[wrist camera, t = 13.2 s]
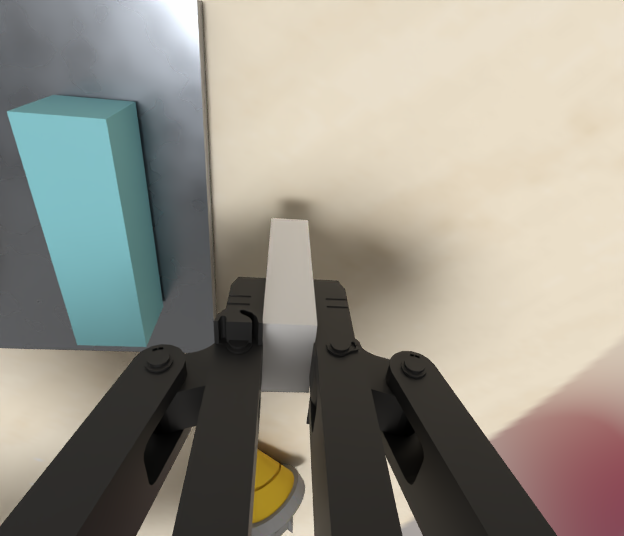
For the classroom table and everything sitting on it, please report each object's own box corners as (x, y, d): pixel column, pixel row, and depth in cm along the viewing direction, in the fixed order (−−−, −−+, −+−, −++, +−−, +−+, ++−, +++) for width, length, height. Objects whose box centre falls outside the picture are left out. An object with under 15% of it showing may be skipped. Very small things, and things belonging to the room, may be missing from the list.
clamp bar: (103, 303, 20) (77, 345, 18) (53, 94, 15) (6, 111, 13) (163, 306, 21) (146, 347, 18) (135, 101, 15) (105, 118, 13)
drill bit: (249, 572, 28) (171, 463, 26) (277, 506, 33) (213, 410, 31) (311, 566, 26) (230, 447, 24) (331, 496, 31) (265, 392, 29)
